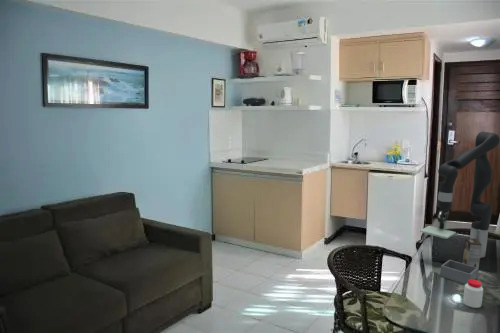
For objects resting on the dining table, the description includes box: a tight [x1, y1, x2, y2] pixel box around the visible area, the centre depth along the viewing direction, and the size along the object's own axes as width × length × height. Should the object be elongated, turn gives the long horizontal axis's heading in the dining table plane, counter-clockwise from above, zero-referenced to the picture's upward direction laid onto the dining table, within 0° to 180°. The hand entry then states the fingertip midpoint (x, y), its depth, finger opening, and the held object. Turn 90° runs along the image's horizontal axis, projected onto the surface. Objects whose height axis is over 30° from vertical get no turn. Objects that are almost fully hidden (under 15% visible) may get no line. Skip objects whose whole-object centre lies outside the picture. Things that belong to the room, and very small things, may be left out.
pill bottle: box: [462, 279, 484, 309], centre depth 198 cm, size 8×8×11 cm
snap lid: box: [419, 220, 457, 240], centre depth 241 cm, size 12×15×7 cm
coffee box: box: [462, 237, 482, 270], centre depth 237 cm, size 9×6×16 cm
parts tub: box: [439, 259, 479, 285], centre depth 226 cm, size 12×15×6 cm
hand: (442, 228), depth 245 cm, fingers closed on snap lid, 1 cm apart
